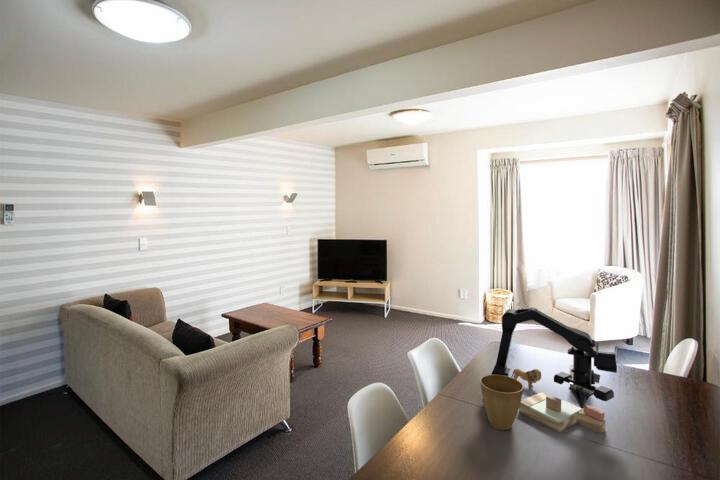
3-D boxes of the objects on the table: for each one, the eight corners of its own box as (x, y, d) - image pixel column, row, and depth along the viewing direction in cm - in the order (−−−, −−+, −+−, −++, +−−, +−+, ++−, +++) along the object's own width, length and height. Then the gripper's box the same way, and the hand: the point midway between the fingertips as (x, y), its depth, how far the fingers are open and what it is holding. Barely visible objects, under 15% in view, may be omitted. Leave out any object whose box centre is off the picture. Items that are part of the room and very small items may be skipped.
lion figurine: (543, 388, 159) (543, 368, 159) (539, 392, 155) (539, 372, 155) (510, 378, 169) (510, 360, 169) (505, 382, 166) (505, 363, 165)
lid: (558, 424, 126) (559, 409, 126) (529, 410, 136) (529, 396, 136) (582, 412, 134) (582, 397, 133) (553, 399, 143) (553, 386, 143)
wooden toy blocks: (582, 444, 119) (582, 432, 119) (519, 412, 140) (519, 401, 140) (605, 430, 127) (605, 418, 127) (542, 401, 148) (542, 391, 147)
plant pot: (497, 440, 123) (496, 395, 122) (472, 417, 137) (472, 377, 136) (532, 432, 127) (532, 388, 126) (505, 411, 141) (505, 371, 140)
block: (601, 420, 125) (601, 413, 125) (583, 412, 131) (583, 406, 130) (604, 418, 126) (604, 412, 126) (586, 411, 132) (586, 404, 131)
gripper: (621, 370, 127) (621, 412, 128) (569, 354, 143) (569, 392, 144) (605, 378, 122) (605, 422, 122) (552, 360, 138) (552, 399, 138)
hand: (582, 408), depth 132 cm, fingers closed
